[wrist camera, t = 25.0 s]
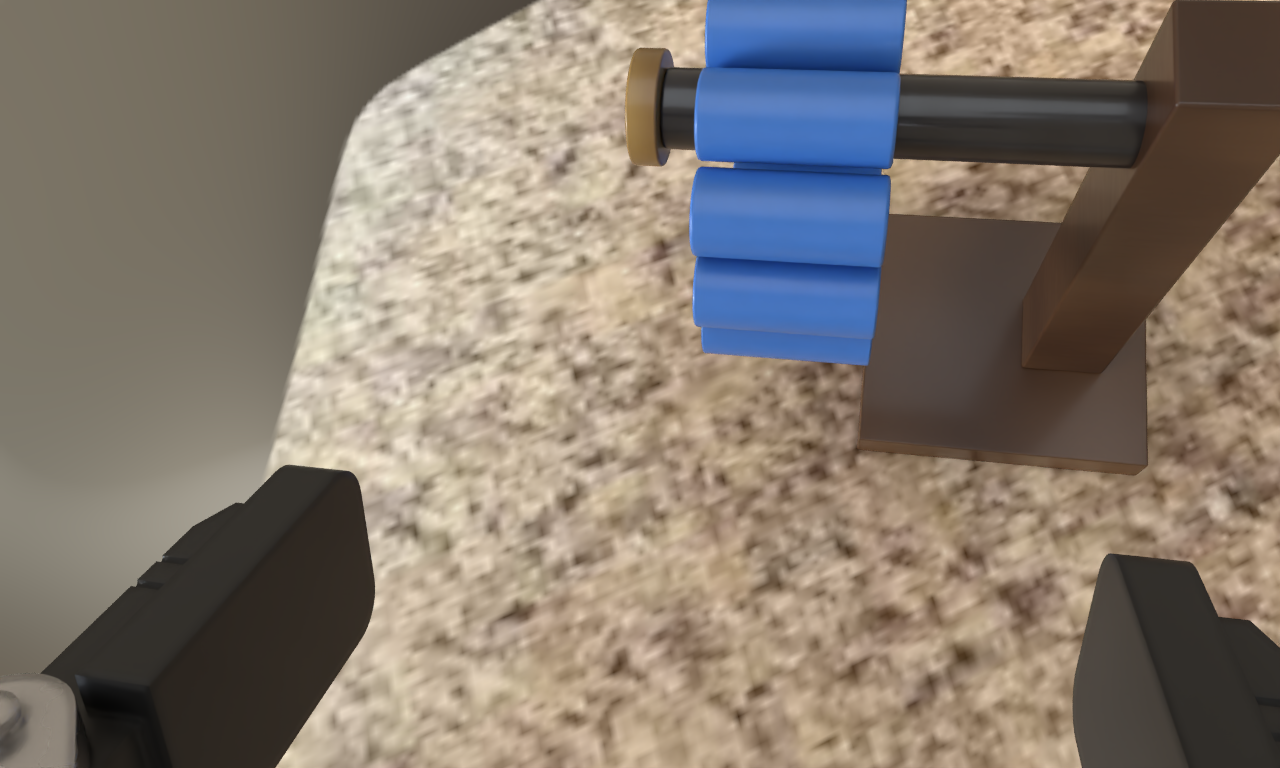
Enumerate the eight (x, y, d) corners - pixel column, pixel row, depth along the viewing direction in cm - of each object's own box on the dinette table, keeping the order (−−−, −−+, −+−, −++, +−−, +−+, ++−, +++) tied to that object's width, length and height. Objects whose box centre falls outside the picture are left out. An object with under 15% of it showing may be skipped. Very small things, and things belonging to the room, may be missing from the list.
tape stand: (1133, 243, 34) (1375, -120, 20) (1135, 475, 32) (1414, 255, 17) (705, 219, 37) (645, -117, 23) (677, 433, 35) (589, 210, 20)
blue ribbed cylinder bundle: (885, 94, 30) (917, -150, 21) (861, 403, 28) (887, 275, 19) (749, 90, 31) (726, -147, 22) (715, 391, 29) (673, 261, 20)
